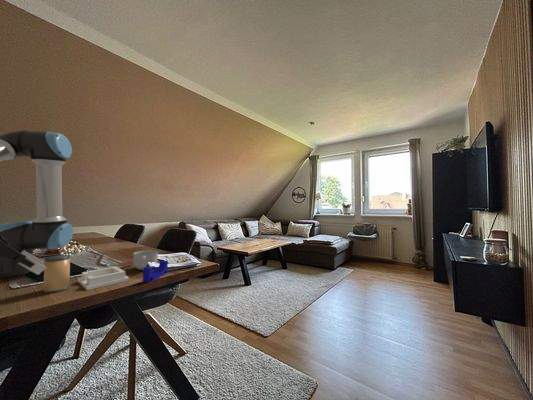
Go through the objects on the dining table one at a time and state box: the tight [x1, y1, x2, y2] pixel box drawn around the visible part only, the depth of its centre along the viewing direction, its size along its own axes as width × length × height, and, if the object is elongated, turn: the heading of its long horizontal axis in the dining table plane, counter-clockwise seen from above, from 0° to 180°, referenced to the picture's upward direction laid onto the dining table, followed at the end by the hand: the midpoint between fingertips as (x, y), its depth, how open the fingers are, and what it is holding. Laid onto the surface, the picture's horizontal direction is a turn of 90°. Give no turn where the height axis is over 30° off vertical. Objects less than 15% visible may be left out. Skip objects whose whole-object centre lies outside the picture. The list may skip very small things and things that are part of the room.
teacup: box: [132, 250, 159, 271], centre depth 110 cm, size 14×11×8 cm
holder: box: [77, 266, 130, 291], centre depth 93 cm, size 14×14×4 cm
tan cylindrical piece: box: [43, 254, 71, 295], centre depth 83 cm, size 7×7×12 cm
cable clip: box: [142, 260, 169, 283], centre depth 98 cm, size 12×4×6 cm, turn 170°
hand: (40, 267), depth 79 cm, fingers open, 13 cm apart
